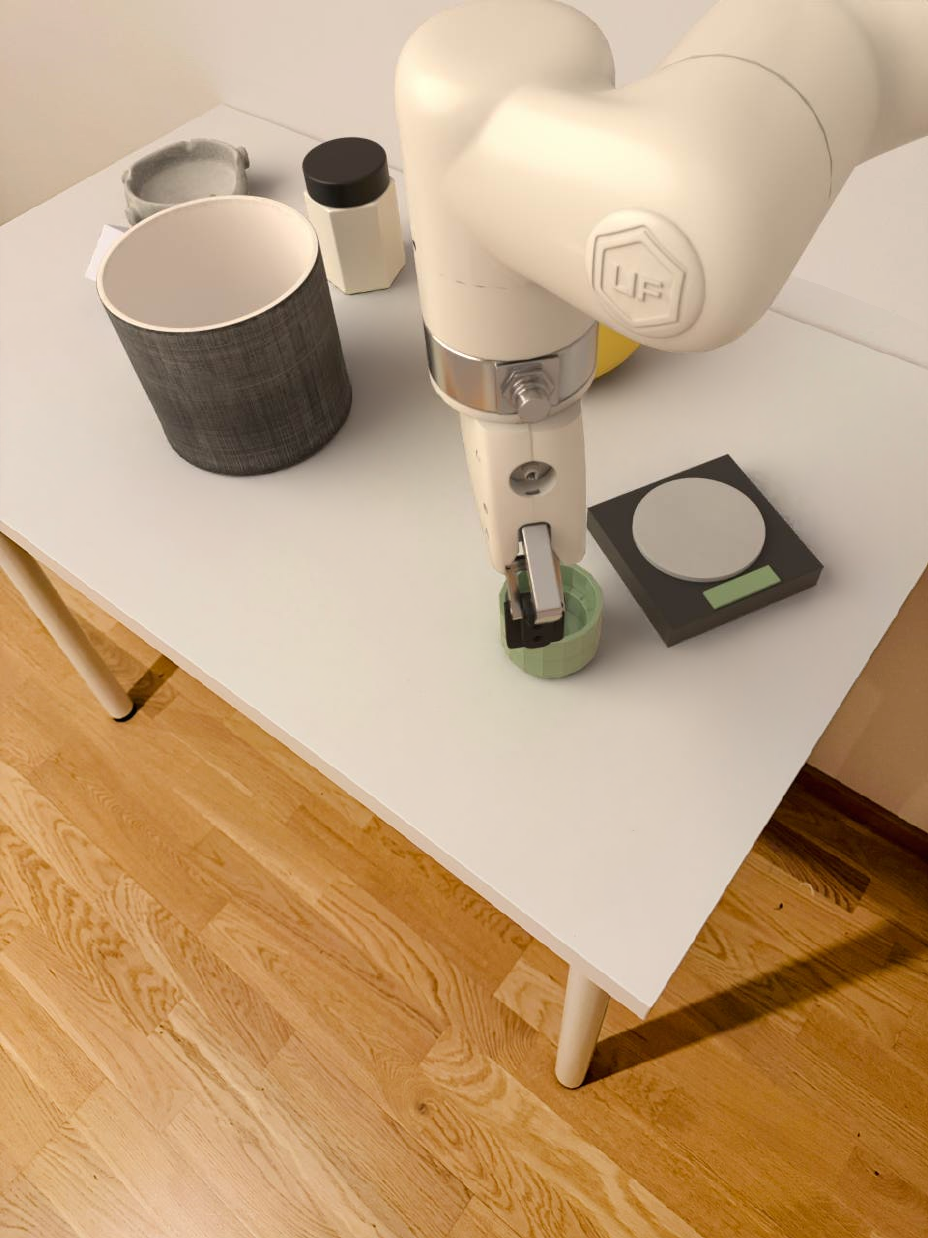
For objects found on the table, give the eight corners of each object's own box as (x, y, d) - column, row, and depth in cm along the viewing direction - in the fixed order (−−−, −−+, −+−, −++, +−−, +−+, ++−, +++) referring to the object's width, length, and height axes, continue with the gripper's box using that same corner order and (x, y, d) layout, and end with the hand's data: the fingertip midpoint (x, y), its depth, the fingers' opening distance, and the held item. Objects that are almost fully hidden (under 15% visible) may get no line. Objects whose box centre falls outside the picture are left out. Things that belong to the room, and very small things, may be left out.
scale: (816, 585, 69) (826, 561, 67) (667, 647, 67) (672, 625, 65) (723, 473, 76) (729, 448, 74) (585, 526, 74) (587, 502, 72)
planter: (386, 424, 82) (357, 273, 69) (205, 507, 78) (138, 364, 65) (304, 321, 91) (265, 170, 78) (139, 391, 87) (68, 244, 74)
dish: (258, 172, 108) (247, 130, 103) (249, 242, 100) (236, 199, 96) (138, 184, 108) (122, 143, 104) (120, 254, 100) (102, 212, 96)
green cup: (616, 658, 67) (621, 619, 63) (527, 695, 66) (526, 658, 61) (571, 586, 71) (573, 545, 67) (486, 620, 70) (482, 580, 65)
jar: (401, 240, 98) (385, 129, 88) (410, 286, 93) (395, 174, 83) (319, 253, 98) (294, 143, 88) (325, 299, 93) (299, 189, 83)
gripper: (648, 468, 35) (616, 687, 49) (554, 213, 44) (550, 458, 58) (455, 499, 34) (479, 710, 49) (403, 236, 44) (436, 476, 58)
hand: (518, 572), depth 54 cm, fingers open, 9 cm apart
